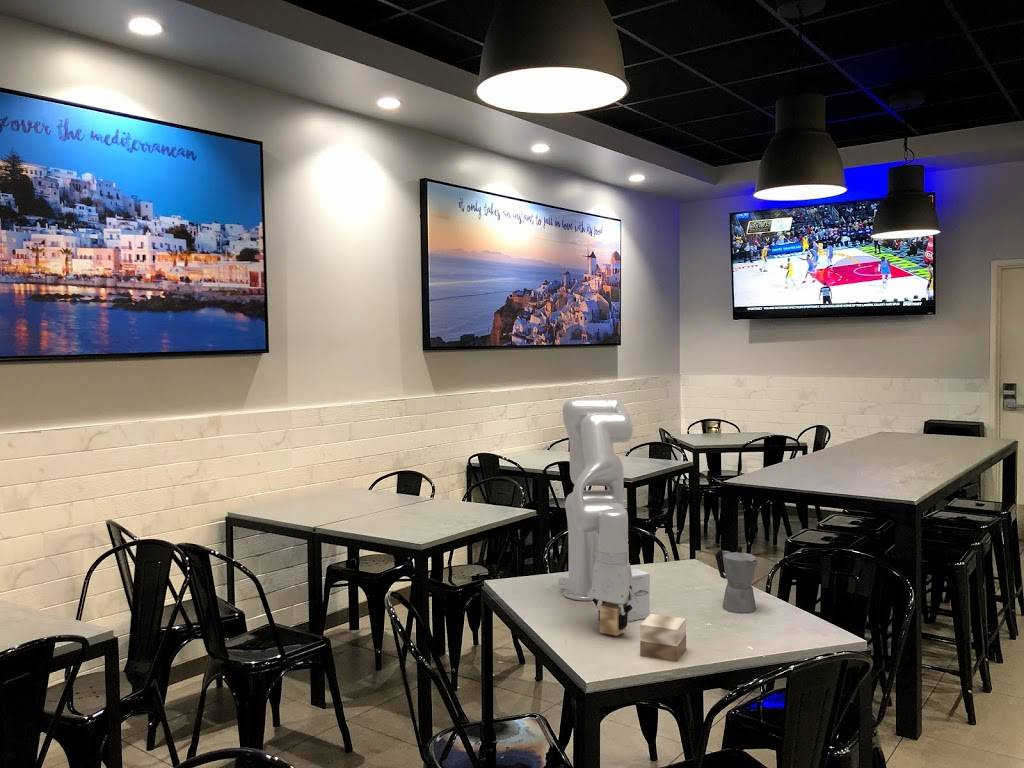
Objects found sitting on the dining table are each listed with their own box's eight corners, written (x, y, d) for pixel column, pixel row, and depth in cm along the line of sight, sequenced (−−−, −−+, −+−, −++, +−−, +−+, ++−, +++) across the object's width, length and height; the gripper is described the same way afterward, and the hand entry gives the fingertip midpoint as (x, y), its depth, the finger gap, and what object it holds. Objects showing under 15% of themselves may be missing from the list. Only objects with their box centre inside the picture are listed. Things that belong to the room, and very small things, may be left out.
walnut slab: (640, 657, 202) (640, 641, 202) (650, 645, 210) (650, 629, 210) (676, 663, 198) (676, 646, 198) (686, 650, 206) (686, 634, 206)
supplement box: (628, 622, 227) (628, 576, 226) (612, 614, 233) (612, 570, 233) (650, 618, 230) (650, 572, 230) (634, 610, 237) (634, 566, 236)
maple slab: (640, 640, 202) (640, 624, 202) (650, 629, 210) (650, 613, 210) (677, 646, 198) (677, 629, 198) (685, 634, 206) (685, 618, 206)
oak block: (599, 631, 217) (599, 605, 216) (609, 626, 221) (609, 600, 221) (616, 635, 214) (616, 609, 214) (625, 630, 218) (626, 604, 218)
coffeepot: (768, 611, 235) (769, 548, 235) (746, 617, 230) (746, 553, 229) (727, 598, 248) (727, 538, 247) (704, 603, 243) (704, 542, 242)
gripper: (577, 555, 218) (577, 623, 219) (636, 565, 208) (635, 637, 209) (591, 549, 224) (591, 615, 225) (649, 559, 214) (649, 628, 216)
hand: (612, 625), depth 217 cm, fingers closed on oak block, 5 cm apart
